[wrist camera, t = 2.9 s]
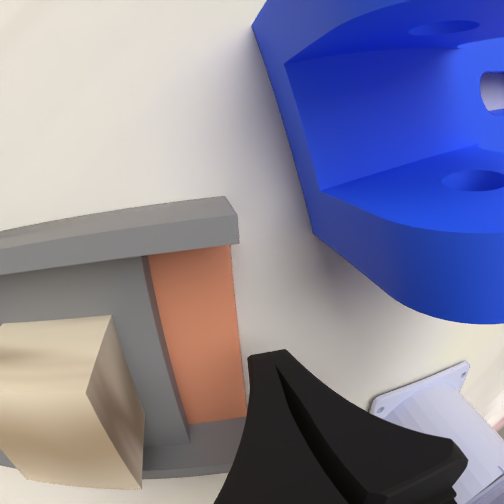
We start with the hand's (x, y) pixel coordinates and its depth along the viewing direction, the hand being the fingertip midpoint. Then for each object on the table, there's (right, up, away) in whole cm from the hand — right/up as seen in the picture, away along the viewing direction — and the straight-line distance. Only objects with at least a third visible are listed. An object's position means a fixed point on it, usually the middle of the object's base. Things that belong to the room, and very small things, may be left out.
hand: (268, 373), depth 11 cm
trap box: (-14, -1, 0) cm, 14 cm away
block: (-8, -1, 0) cm, 8 cm away
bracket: (+9, +12, +1) cm, 15 cm away
